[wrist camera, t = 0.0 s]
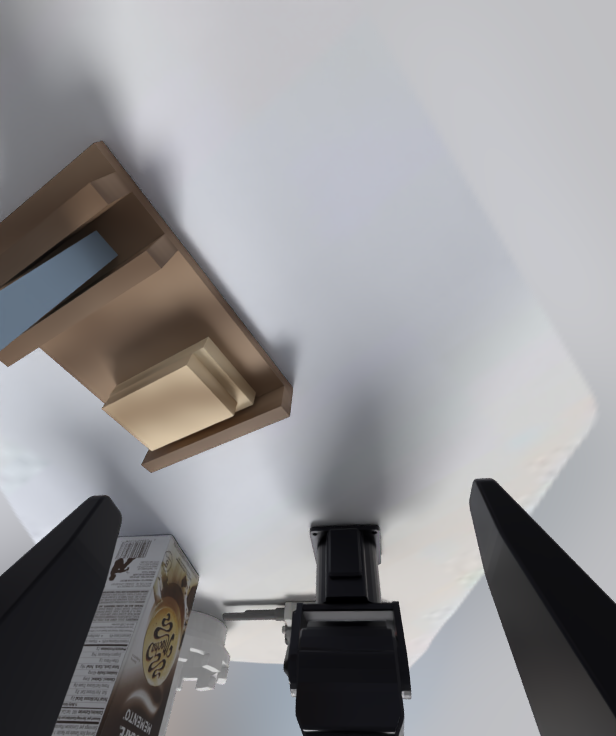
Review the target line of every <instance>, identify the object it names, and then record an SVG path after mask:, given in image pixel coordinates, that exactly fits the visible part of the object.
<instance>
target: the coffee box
mask: <svg viewBox="0 0 616 736" xmlns="http://www.w3.org/2000/svg"><path fill="white" fill-rule="evenodd" d="M198 582H199V576H198V575H197V573H196V572H195V570H194V569H193V567H192V566H191V564H190V562H189V561H188V559H187V558H186V556H185V555H184V553H183V552H182V550H181V549H180V547H179V545H178V544H177V542H176V541H175V539H174V538H173V536H172V535H157V536H132V537H118V539H117V543H116V547H115V550H114V554H113V558H112V562H111V566H110V570H109V574H108V578H107V581H106V584H105V587H104V590H103V593H102V596H101V599H100V602H99V605H98V607H97V610H96V613H95V616H94V619H93V621H92V624H91V627H90V630H89V633H88V635H87V638H86V641H85V644H84V647H83V649H82V652H81V655H80V658H79V661H78V663H77V666H76V669H75V672H74V675H73V677H72V680H71V683H70V686H69V689H68V692H67V694H66V697H65V700H64V703H63V706H62V708H61V711H60V714H59V717H58V720H57V722H56V725H55V728H54V731H53V734H52V736H158V735H159V731H160V728H161V724H162V720H163V716H164V712H165V709H166V705H167V701H168V697H169V693H170V689H171V685H172V681H173V677H174V674H175V670H176V666H177V662H178V658H179V654H180V651H181V647H182V643H183V639H184V635H185V632H186V628H187V624H188V620H189V616H190V613H191V609H192V605H193V601H194V597H195V593H196V589H197V586H198Z"/></svg>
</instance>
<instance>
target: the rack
mask: <svg viewBox="0 0 616 736" xmlns="http://www.w3.org/2000/svg"><path fill="white" fill-rule="evenodd" d="M94 231H97V232H98V233H99V234H100V235H101V236H102V237H103V238H104V240H105V241H106V242H107V243H108V244H109V245H110V246H111V248H112V249H113V250H114V251H115V252H116V253H117V254H118V256H117V257H115V258H114V259H113V260H112V261H111V262H109V263H108V264H107V265H106V266H104V267H103V268H102V269H101V270H99V271H98V272H97V273H96V274H95V275H93V276H92V277H91V278H90V279H88V280H87V281H86V282H85V283H83V284H82V285H81V286H80V287H78V288H77V289H76V290H75V291H74V292H72V293H71V294H70V295H69V296H67V297H66V298H65V299H64V300H62V301H61V302H60V303H59V304H58V305H56V306H55V307H54V308H53V309H51V310H50V311H49V312H48V313H46V314H45V315H44V316H43V317H42V318H40V319H39V320H38V321H37V322H35V323H34V324H33V325H32V326H30V327H29V328H28V329H27V330H26V331H24V332H23V333H22V334H21V335H19V336H18V337H17V338H16V339H14V340H13V341H12V342H11V343H9V344H8V345H7V346H6V347H5V348H3V349H2V350H1V351H0V361H1V362H2V363H4V364H5V365H6V366H7V367H9V366H10V365H12V364H14V363H15V362H17V361H18V360H20V359H21V358H23V357H24V356H26V355H28V354H29V353H31V352H32V351H34V350H35V349H37V348H39V347H40V348H41V349H42V350H43V351H44V352H45V353H46V354H48V355H49V356H50V357H51V358H52V359H53V360H55V361H56V362H57V363H58V364H59V365H60V366H62V367H63V368H64V369H65V370H66V371H67V372H69V373H70V374H71V375H72V376H73V377H74V378H76V379H77V380H78V381H79V382H80V383H81V384H82V385H84V386H85V387H86V388H87V389H88V390H89V391H91V392H92V393H93V394H94V395H95V396H96V397H98V398H99V399H100V400H101V401H102V402H103V403H106V402H107V400H108V399H109V398H108V397H109V395H110V394H111V393H112V391H113V390H114V388H115V387H116V386H117V385H118V384H120V383H122V382H124V381H126V380H128V379H130V378H132V377H134V376H135V375H137V374H139V373H141V372H143V371H145V370H147V369H149V368H150V367H152V366H154V365H156V364H158V363H160V362H162V361H164V360H165V359H167V358H169V357H171V356H173V355H175V354H177V353H179V352H181V351H182V350H184V349H186V348H188V347H190V346H192V345H194V344H196V343H197V342H199V341H201V340H203V339H205V338H207V337H209V338H210V339H211V340H212V341H213V342H214V344H215V345H216V346H217V347H218V348H219V350H220V351H221V352H222V353H223V354H224V355H225V357H226V358H227V359H228V360H229V361H230V363H231V364H232V365H233V366H234V367H235V368H236V370H237V371H238V372H239V373H240V374H241V375H242V377H243V378H244V379H245V380H246V381H247V383H248V384H249V385H250V386H251V387H252V388H253V390H254V391H255V392H256V394H255V399H254V403H253V405H251V406H249V407H246V408H244V409H242V410H239V411H237V412H235V413H234V416H232V417H230V418H227V419H225V420H223V421H220V422H218V423H216V424H213V425H211V426H209V427H207V428H204V429H202V430H200V431H197V432H195V433H193V434H190V435H188V436H186V437H183V438H181V439H179V440H176V441H174V442H172V443H169V444H167V445H165V446H163V447H160V448H158V449H156V450H153V451H151V450H148V452H147V454H146V456H145V458H144V460H143V462H142V464H141V465H142V466H143V467H144V468H146V469H147V470H148V471H149V472H151V473H152V472H155V471H157V470H160V469H162V468H164V467H167V466H169V465H172V464H174V463H177V462H179V461H182V460H184V459H187V458H189V457H192V456H194V455H196V454H199V453H201V452H204V451H206V450H209V449H211V448H214V447H216V446H219V445H221V444H224V443H226V442H228V441H231V440H233V439H236V438H238V437H241V436H243V435H246V434H248V433H251V432H253V431H256V430H258V429H260V428H263V427H265V426H268V425H270V424H273V423H275V422H278V421H280V420H283V419H285V418H288V417H290V411H291V403H292V394H293V387H292V386H291V385H290V383H289V382H288V381H287V380H286V378H285V377H284V376H283V374H282V373H281V372H280V370H279V369H278V368H277V367H276V365H275V364H274V363H273V361H272V360H271V359H270V357H269V356H268V355H267V354H266V352H265V351H264V350H263V348H262V347H261V346H260V345H259V343H258V342H257V341H256V339H255V338H254V337H253V335H252V334H251V333H250V332H249V330H248V329H247V328H246V326H245V325H244V324H243V323H242V321H241V320H240V319H239V317H238V316H237V315H236V313H235V312H234V311H233V310H232V308H231V307H230V306H229V304H228V303H227V302H226V300H225V299H224V298H223V297H222V295H221V294H220V293H219V291H218V290H217V289H216V288H215V286H214V285H213V284H212V282H211V281H210V280H209V278H208V277H207V276H206V275H205V273H204V272H203V271H202V269H201V268H200V267H199V265H198V264H197V263H196V262H195V260H194V259H193V258H192V256H191V255H190V254H189V253H188V251H187V250H186V249H185V247H184V246H183V245H182V243H181V242H180V241H179V240H178V238H177V237H176V236H175V234H174V233H173V232H172V230H171V229H170V228H169V227H168V225H167V224H166V223H165V221H164V220H163V219H162V218H161V216H160V215H159V214H158V212H157V211H156V210H155V208H154V207H153V206H152V205H151V203H150V202H149V201H148V199H147V198H146V197H145V196H144V194H143V193H142V192H141V190H140V189H139V188H138V186H137V185H136V184H135V183H134V181H133V180H132V179H131V177H130V176H129V175H128V173H127V172H126V171H125V170H124V168H123V167H122V166H121V164H120V163H119V162H118V161H117V159H116V158H115V157H114V155H113V154H112V153H111V151H110V150H109V149H108V148H107V146H106V145H105V144H104V142H103V141H100V142H96V143H93V144H92V145H91V146H90V147H89V148H87V149H86V150H85V151H84V152H83V153H82V154H80V155H79V156H78V157H77V158H76V159H75V160H73V161H72V162H71V163H70V164H69V165H68V166H66V167H65V168H64V169H63V170H62V171H61V172H59V173H58V174H57V175H56V176H55V177H54V178H52V179H51V180H50V181H49V182H48V183H47V184H45V185H44V186H43V187H42V188H41V189H40V190H38V191H37V192H36V193H35V194H34V195H33V196H31V197H30V198H29V199H28V200H27V201H26V202H24V203H23V204H22V205H21V206H20V207H18V208H17V209H16V210H15V211H14V212H13V213H11V214H10V215H9V216H8V217H7V218H6V219H4V220H3V221H2V222H1V223H0V290H2V289H4V288H5V287H7V286H8V285H10V284H12V283H13V282H15V281H16V280H18V279H20V278H21V277H23V276H24V275H26V274H28V273H29V272H31V271H32V270H34V269H36V268H37V267H39V266H40V265H42V264H43V263H45V262H47V261H48V260H50V259H51V258H53V257H55V256H56V255H58V254H59V253H61V252H63V251H64V250H66V249H67V248H69V247H71V246H72V245H74V244H75V243H77V242H78V241H80V240H82V239H83V238H85V237H86V236H88V235H90V234H91V233H93V232H94Z"/></svg>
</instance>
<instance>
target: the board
mask: <svg viewBox="0 0 616 736" xmlns="http://www.w3.org/2000/svg"><path fill="white" fill-rule="evenodd" d="M117 256H118V254H117V253H116V252H115V251H114V250H113V249H112V248H111V246H110V245H109V244H108V243H107V242H106V241H105V240H104V238H103V237H102V236H101V235H100V234H99V233H98V232H97V231H94V232H93V233H91V234H90V235H88V236H86V237H85V238H83V239H82V240H80V241H78V242H77V243H75V244H74V245H72V246H71V247H69V248H67V249H66V250H64V251H63V252H61V253H59V254H58V255H56V256H55V257H53V258H51V259H50V260H48V261H47V262H45V263H43V264H42V265H40V266H39V267H37V268H36V269H34V270H32V271H31V272H29V273H28V274H26V275H24V276H23V277H21V278H20V279H18V280H16V281H15V282H13V283H12V284H10V285H8V286H7V287H5V288H4V289H2V290H0V351H1V350H2V349H3V348H5V347H6V346H7V345H8V344H9V343H11V342H12V341H13V340H14V339H16V338H17V337H18V336H19V335H21V334H22V333H23V332H24V331H26V330H27V329H28V328H29V327H30V326H32V325H33V324H34V323H35V322H37V321H38V320H39V319H40V318H42V317H43V316H44V315H45V314H46V313H48V312H49V311H50V310H51V309H53V308H54V307H55V306H56V305H58V304H59V303H60V302H61V301H62V300H64V299H65V298H66V297H67V296H69V295H70V294H71V293H72V292H74V291H75V290H76V289H77V288H78V287H80V286H81V285H82V284H83V283H85V282H86V281H87V280H88V279H90V278H91V277H92V276H93V275H95V274H96V273H97V272H98V271H99V270H101V269H102V268H103V267H104V266H106V265H107V264H108V263H109V262H111V261H112V260H113V259H114V258H115V257H117Z"/></svg>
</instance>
